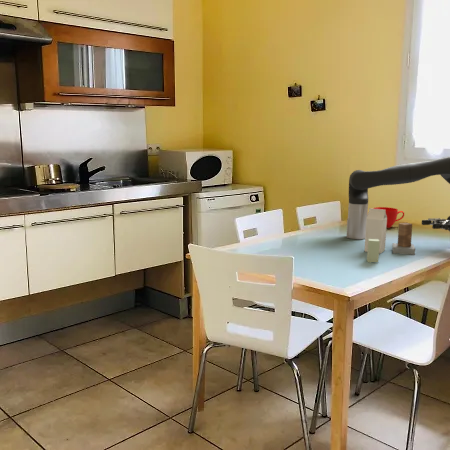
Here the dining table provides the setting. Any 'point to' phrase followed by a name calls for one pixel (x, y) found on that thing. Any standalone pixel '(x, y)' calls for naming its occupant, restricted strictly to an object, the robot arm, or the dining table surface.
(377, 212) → the milk carton
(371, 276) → the dining table surface
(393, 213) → the ceramic cup
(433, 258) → the dining table surface
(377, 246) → the sage block
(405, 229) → the walnut block
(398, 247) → the grey slab
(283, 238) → the dining table surface
